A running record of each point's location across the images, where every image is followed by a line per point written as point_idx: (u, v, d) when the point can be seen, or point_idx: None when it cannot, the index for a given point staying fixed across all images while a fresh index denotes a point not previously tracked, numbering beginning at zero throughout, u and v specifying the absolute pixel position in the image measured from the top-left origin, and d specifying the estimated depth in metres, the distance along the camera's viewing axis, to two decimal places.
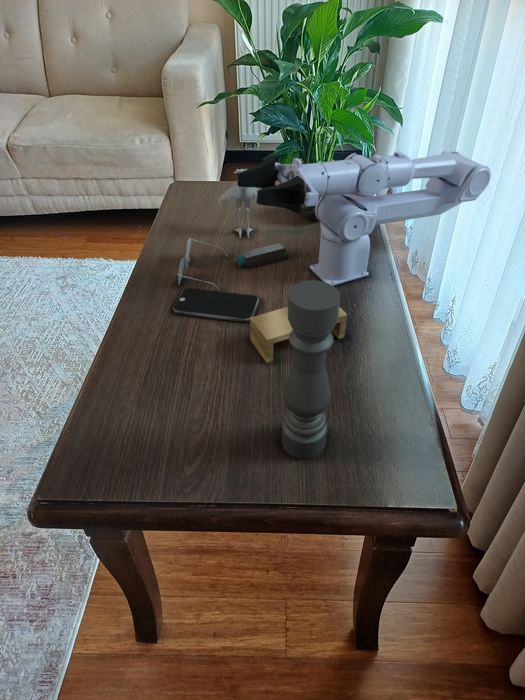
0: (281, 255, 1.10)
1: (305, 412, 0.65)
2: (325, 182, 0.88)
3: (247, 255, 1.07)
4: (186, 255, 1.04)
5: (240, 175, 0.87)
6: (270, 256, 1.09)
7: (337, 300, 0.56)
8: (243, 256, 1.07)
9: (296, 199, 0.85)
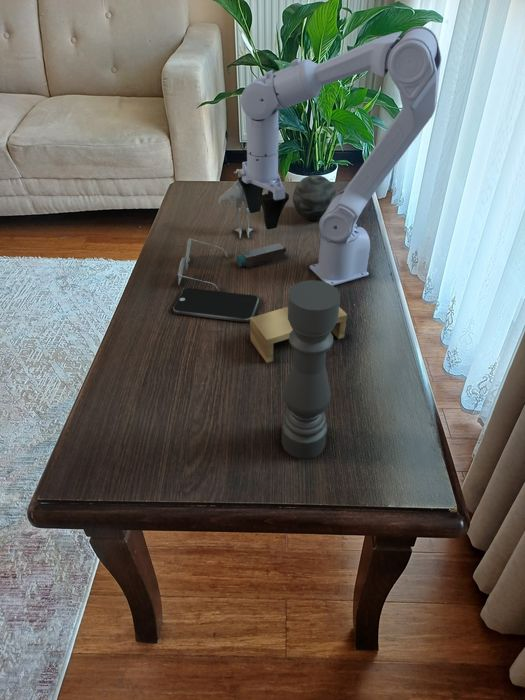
0: (281, 255, 1.10)
1: (305, 412, 0.65)
2: (265, 159, 0.93)
3: (247, 255, 1.07)
4: (186, 255, 1.04)
5: (251, 212, 1.06)
6: (270, 256, 1.09)
7: (337, 300, 0.56)
8: (243, 256, 1.07)
9: None
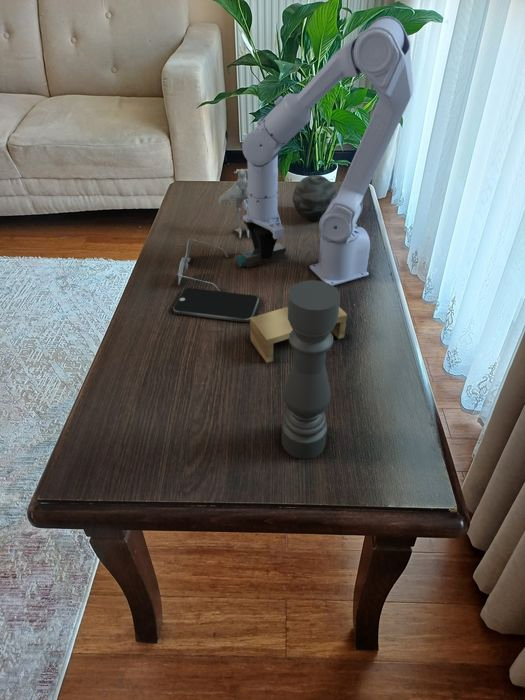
0: (281, 255, 1.10)
1: (305, 412, 0.65)
2: (265, 200, 0.98)
3: (247, 255, 1.07)
4: (186, 255, 1.04)
5: None
6: None
7: (337, 300, 0.56)
8: (243, 256, 1.07)
9: None
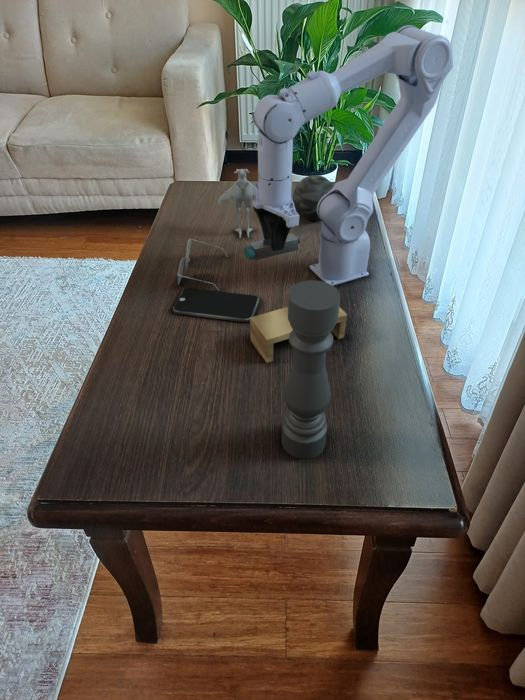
0: (294, 247, 0.98)
1: (305, 412, 0.65)
2: (278, 183, 0.86)
3: (257, 246, 0.95)
4: (186, 255, 1.04)
5: None
6: None
7: (337, 300, 0.56)
8: (252, 247, 0.95)
9: None
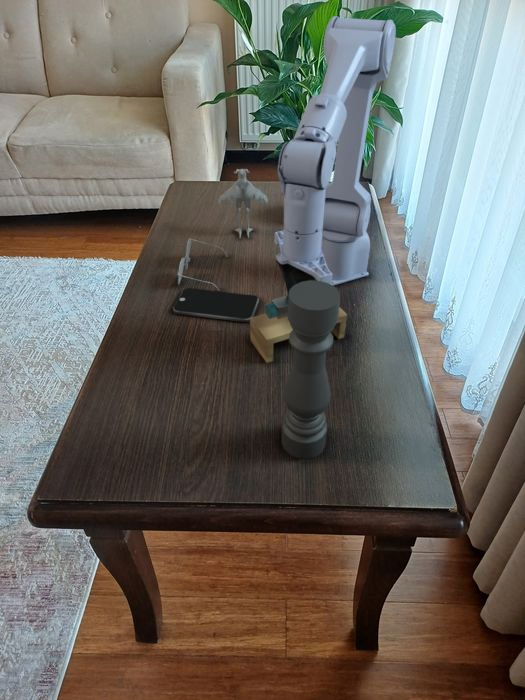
0: None
1: (305, 412, 0.65)
2: (308, 237, 0.74)
3: (280, 304, 0.83)
4: (186, 255, 1.04)
5: None
6: None
7: (337, 300, 0.56)
8: (274, 305, 0.83)
9: None
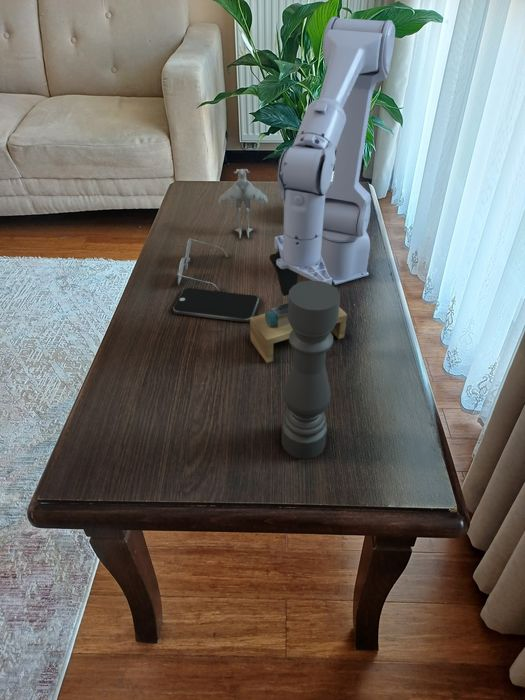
0: None
1: (305, 412, 0.65)
2: (308, 242, 0.75)
3: (279, 312, 0.84)
4: (186, 255, 1.04)
5: (284, 294, 0.87)
6: None
7: (337, 300, 0.56)
8: (274, 314, 0.84)
9: None
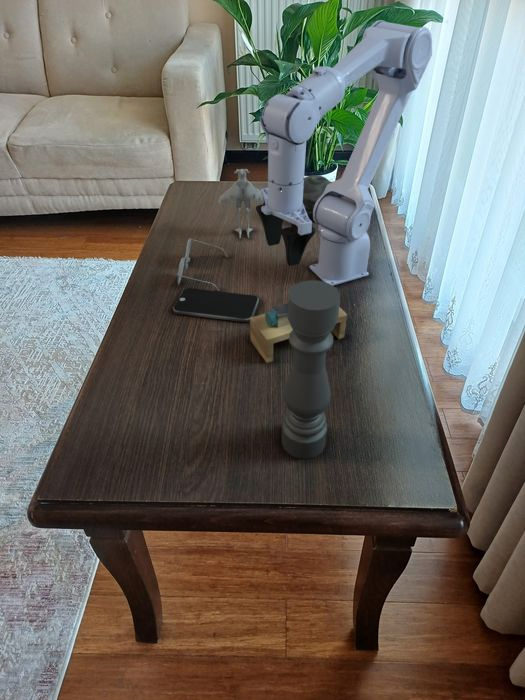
0: None
1: (305, 412, 0.65)
2: (290, 188, 0.81)
3: (279, 312, 0.84)
4: (186, 255, 1.04)
5: (270, 244, 0.94)
6: None
7: (337, 300, 0.56)
8: (274, 314, 0.84)
9: None
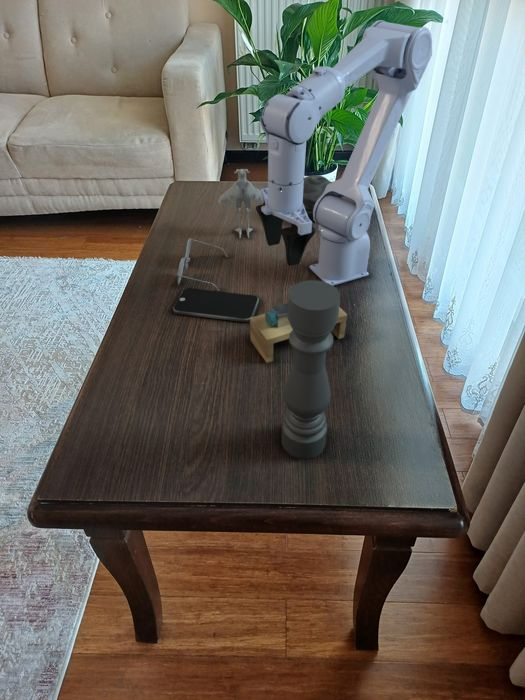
0: None
1: (305, 412, 0.65)
2: (290, 188, 0.81)
3: (279, 312, 0.84)
4: (186, 255, 1.04)
5: (270, 244, 0.94)
6: None
7: (337, 300, 0.56)
8: (274, 314, 0.84)
9: None
